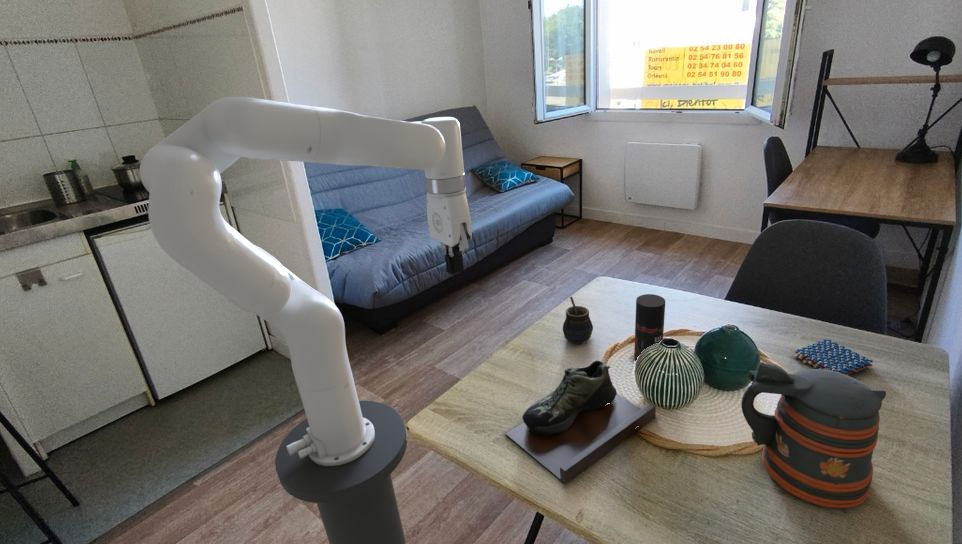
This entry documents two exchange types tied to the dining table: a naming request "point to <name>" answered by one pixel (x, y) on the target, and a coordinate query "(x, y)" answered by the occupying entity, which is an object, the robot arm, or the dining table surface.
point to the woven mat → (833, 357)
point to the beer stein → (816, 433)
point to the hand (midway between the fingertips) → (455, 271)
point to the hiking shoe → (571, 399)
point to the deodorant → (648, 322)
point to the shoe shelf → (584, 438)
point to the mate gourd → (577, 324)
